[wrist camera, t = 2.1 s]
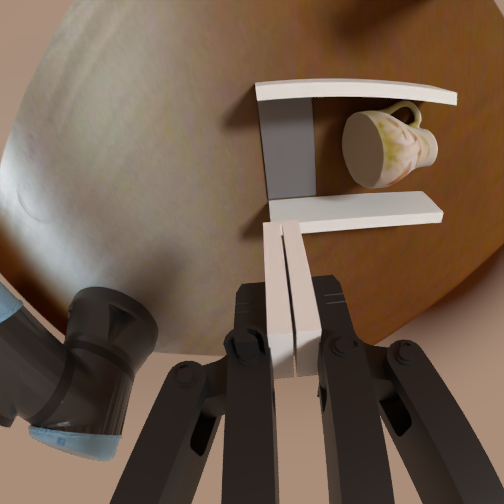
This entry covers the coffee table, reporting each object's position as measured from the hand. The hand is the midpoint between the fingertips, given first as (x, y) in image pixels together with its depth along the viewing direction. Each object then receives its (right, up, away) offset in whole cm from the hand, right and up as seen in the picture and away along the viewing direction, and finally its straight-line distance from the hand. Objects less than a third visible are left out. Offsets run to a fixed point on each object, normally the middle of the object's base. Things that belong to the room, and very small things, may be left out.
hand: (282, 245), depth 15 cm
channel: (+9, +10, +13) cm, 18 cm away
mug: (+12, +12, +12) cm, 21 cm away
